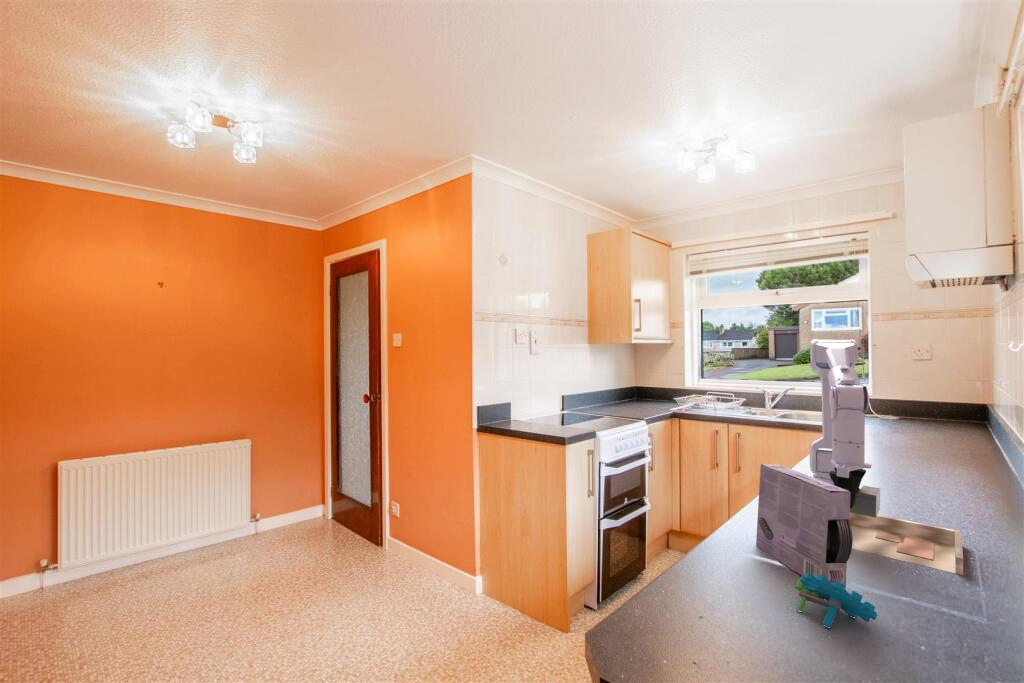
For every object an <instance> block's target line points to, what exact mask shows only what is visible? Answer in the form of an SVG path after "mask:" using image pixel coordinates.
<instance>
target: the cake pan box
mask: <svg viewBox="0 0 1024 683" xmlns="http://www.w3.org/2000/svg"><path fill="white" fill-rule="evenodd" d="M759 470H760V471H759V486H758V501H757V502H758V505H757V506H758V508H757V523H756V537H755V538H756V540H755V543H756V544H755V546H757V547H759V549H761V550H762V551H765V552H766V553H767V554H769V555H771V556H772V557H774V558H775V559H777V560H778V563H780V564H781V565H783V566H784V567H786V568H788V569H789V570H791V571H793V572H794V573H797V574H798V575H800V576H802V575H803V576H806V574H807V573H810V574H812V575H813V576H815V577H816V578H817V575H823V576H825V577H826V578H827V579H828V581H829V582H831V583H832V584H834V582H835V581H837V582H839V583H842V584H844V585H845V587H844V588H847V587H846V586H847V567H848V566H847V562H848V561H849V559H850V557H851V554H852V552H853V551H852V550H853V549H852V541H853V536H852V529H851V525H850V521H849V518H850V495H851V493H850V491H848V490H845V489H842V488H840V487H837V486H834V485H831V484H829V483H826V482H824V481H821V480H819V479H816V478H814V477H811V476H808V475H807V474H806V473H802V472H800V471H797V470H794V469H791V468H789V467H786V466H784V465H781V464H779V463H778V464H776V463H775V464H774V463H761V464H760V468H759Z"/></svg>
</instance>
